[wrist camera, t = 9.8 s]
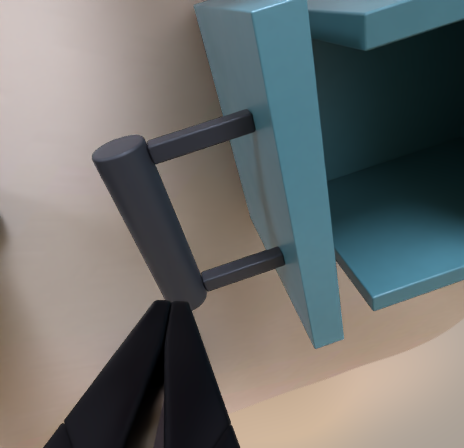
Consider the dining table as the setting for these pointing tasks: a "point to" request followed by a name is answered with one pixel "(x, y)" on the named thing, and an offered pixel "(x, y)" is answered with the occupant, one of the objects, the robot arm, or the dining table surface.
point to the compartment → (319, 153)
